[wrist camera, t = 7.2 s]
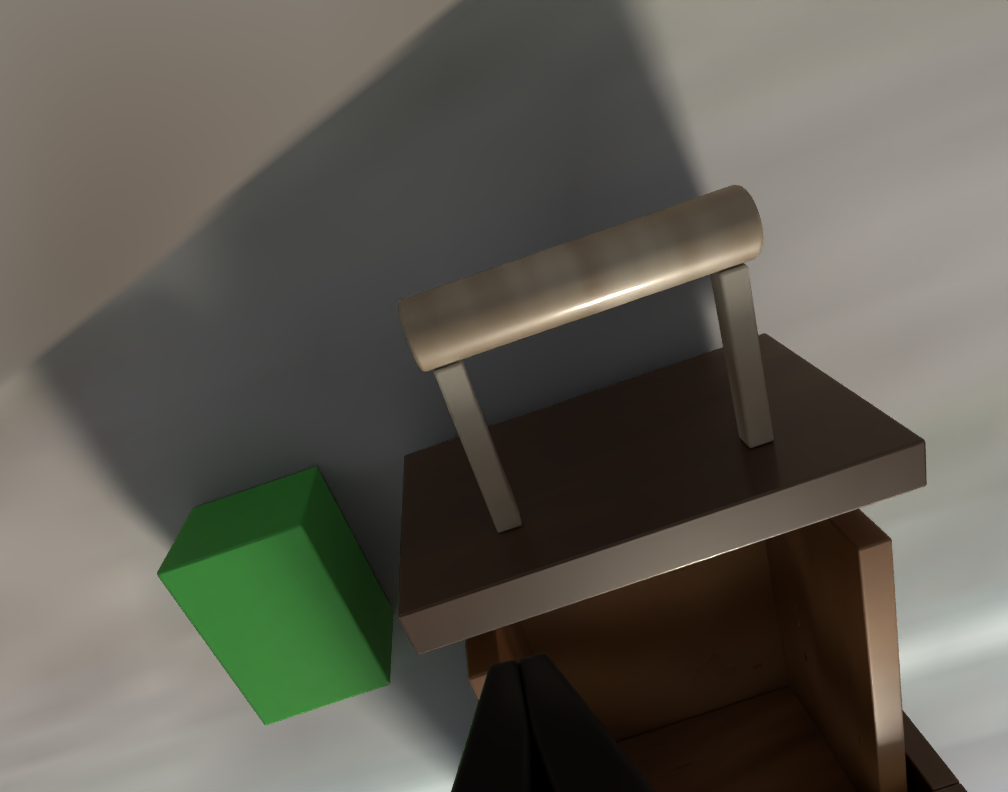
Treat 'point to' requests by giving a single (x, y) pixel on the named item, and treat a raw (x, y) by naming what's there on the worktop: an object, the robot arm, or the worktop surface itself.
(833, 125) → the worktop surface
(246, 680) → the green rectangular box
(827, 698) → the drawer
